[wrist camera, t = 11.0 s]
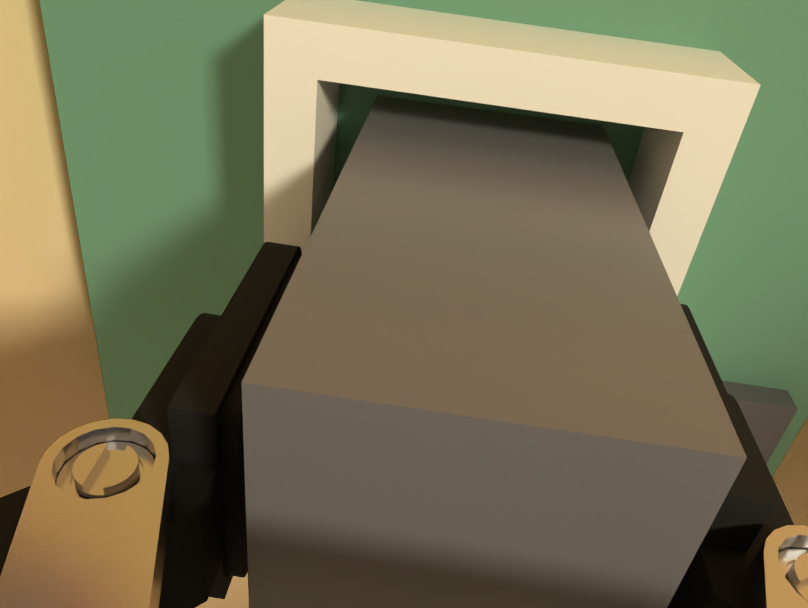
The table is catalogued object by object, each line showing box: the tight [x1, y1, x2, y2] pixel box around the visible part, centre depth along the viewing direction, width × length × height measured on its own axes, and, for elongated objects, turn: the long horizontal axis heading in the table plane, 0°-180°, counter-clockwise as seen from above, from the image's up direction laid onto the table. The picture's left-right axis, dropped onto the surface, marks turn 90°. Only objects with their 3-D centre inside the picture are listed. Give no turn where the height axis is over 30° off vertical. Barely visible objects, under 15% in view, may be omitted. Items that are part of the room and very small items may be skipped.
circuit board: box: [39, 0, 808, 477], centre depth 13 cm, size 16×13×3 cm
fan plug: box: [241, 96, 747, 608], centre depth 11 cm, size 4×10×8 cm, turn 174°
